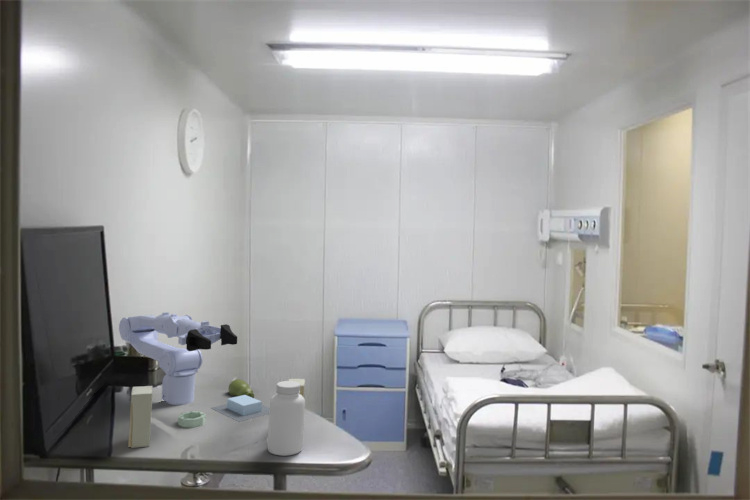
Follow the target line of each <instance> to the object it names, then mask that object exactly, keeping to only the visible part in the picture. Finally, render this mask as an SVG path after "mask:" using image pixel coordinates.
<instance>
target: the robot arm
mask: <svg viewBox="0 0 750 500" xmlns="http://www.w3.org/2000/svg"><path fill="white" fill-rule="evenodd" d="M118 331H119V335H120V338H121V339H122V341H125V342H128V343H130V345H131V346H132V347H133V348H134V349H135V350H136V352H137V353H138V354H140V355H143V356H146V358H147V357H148V358H150V359H153V360H155V361H157V362H158V365H159V368H160V369H161V370H162V371H163V372H164V373H165V374H164V376H163V378H162V382H161V383H162V385H161V400H162V399H163V400H164V401H166V403H167V404H169V405H172V406H173V405H174V406H181V405H187V404H191V403H193V402H194V401H195V392H196V390H195V387H196V374H197V373H198V371H199V369H200V368H202V365H203V362H204V361H203V360H204V358H203V356H204V355H203V353H202V352H201V350H203V351H204V350H207V351H208V350H211V349H212V345H213V344H214V343H216V342H218V341H221V342H220V346H226V345H232V346H233V345H237V344H238V336H237V335H236V334H235V333H234V332H233V331H232V328H231V326H230V325H229V324H227V323H226V324H221V325H220V327H219V326H214V325H211V324H210V322H209V320H205V321H203V320H202V321H201V322H199V321H196V320H193V319H192V317H191V316H190V315H188V314H185V315H178V314H177V313H171V314H170V312H162V314H159V315H158V316H156V315H155V314H148V315H147V314H146V315H135V316H129V317H122V318H121V320H120V321H119V324H118ZM159 334H163V335H166V336H167V338H168V339H171V338H174V337H175V338H178V342H177V343H178V345H181V346H185V345H186V348H181V347H180V348H178V347H176V346H173V345H170V344H168V343H165V342H163V341H160V340H159Z"/></svg>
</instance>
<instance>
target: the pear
mask: <svg viewBox="0 0 750 500" xmlns="http://www.w3.org/2000/svg"><path fill="white" fill-rule="evenodd" d="M228 393H229V395H231V396H232V397H233V396H234V397H237V396H242V395H247V396H249V397H252V398H254V397H255V394H254V390H253V389H252V388H251V387H250V385H249V384H248V383H247V381H245V380H242V379H238V378H237V379H233V380H232V381H231V382H230V383H229V385H228ZM254 399H255V398H254Z"/></svg>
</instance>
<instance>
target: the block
mask: <svg viewBox="0 0 750 500" xmlns="http://www.w3.org/2000/svg"><path fill="white" fill-rule="evenodd" d="M226 404H227V408H228V409H230V410H232V411H234V412H236V413H238V414H241V415H243V416H244V415H248V414H252V413H256V412H260V411H261V405H263V403H262V400H259V399H257V398H252V397H249V396H247V395H242V396H234V397H233V396H232V397H230V398H227V401H226Z"/></svg>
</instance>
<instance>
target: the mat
mask: <svg viewBox="0 0 750 500" xmlns="http://www.w3.org/2000/svg"><path fill="white" fill-rule="evenodd" d="M211 409H212V410H213V411H215V412H218V413H220V414H221V415H224V416H226V417H228V418H231V419H232V420H233V421H237V422H238V423H240V422H244V421H247V420H251V419H255V418H258V417H259V418H260V417H264V416H265V415H269V409H270V407H268V406H266V405H263V404H262V405H261V411H260V412H256V413H252V414H248V415H244V416H243V415H241V414H238V413H236V412H234V411H232V410H230V409H228V408H227V403H226V404H222V405H217V406H212V407H210V410H211Z"/></svg>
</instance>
